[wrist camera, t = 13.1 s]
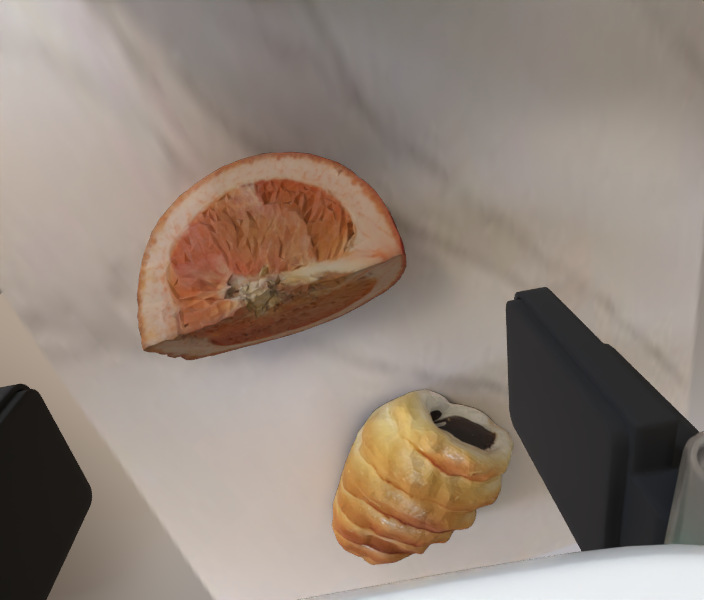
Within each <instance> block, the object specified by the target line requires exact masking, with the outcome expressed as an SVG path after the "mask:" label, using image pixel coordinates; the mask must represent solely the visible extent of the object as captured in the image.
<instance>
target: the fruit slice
mask: <svg viewBox="0 0 704 600" xmlns="http://www.w3.org/2000/svg"><path fill="white" fill-rule="evenodd" d="M405 268H406V254H405V250H404V245H403V242H402V239H401V237H400V235H399V233H398V230H397V227H396V225H395V222H394V220H393V218H392V216H391V214H390V212H389V210H388V209H387V207H386V206H385V204H384V202H383V201H382V199H381V198H380V197H379V195H378V194H377V193H376V191H375V190H374V189H373V188H372V187H371V186H370V185H369V184H367V183H366V182H365V181H364V180H362V179H361V178H359V177H357V176H356V175H355V173H354V172H353V171H351V170H350V169H348V168H346V167H345V166H343V165H341V164H340V163H338V162H335V161H332V160H329V159H326V158H323V157H319V156H316V155H312V154H308V153H298V152H284V153H263V154H259V155H255V156H251V157H248V158H244V159H241V160H238V161H236V162H233V163H231V164H228V165H226V166H223V167H221V168H219V169H218V170H216V171H214V172H213V173H211V174H210V175H208V176H206V177H205V178H203V179H202V180H200V181H199V182H197V183H196V184H195V185H194V186H192V187H191V188H190V189H189V190H187V191H186V192H184V193H183V194H182V195H180V196H179V198H178V199H177V200H176V201H175V202H174V203H173V204H172V205H171V206H170V207H169V208H168V210H167V211H166V212H165V213H164V214H163V216H162V217H161V218H160V219H159V221H158V223H157V225H156V226H155V228H154V229H153V231H152V233H151V236H150V239H149V242H148V244H147V246H146V249H145V252H144V255H143V259H142V266H141V270H140V275H139V285H138V292H137V301H138V306H139V308H138V316H137V317H138V321H139V331H140V335H141V338H142V348H143V350H144V351H147V352H155V353H159V354H163V355H166V354H167V355H168V356H169V357H173V358H176V357H180V356H181V357H182V358H184V359H186V360H194V359H199V358H203V357H207V356H214V355H217V354H221V353H224V352H228V351H232V350H236V349H239V348H243V347H246V346H250V345H255V344H259V343H263V342H266V341H270V340H273V339H277V338H281V337H284V336H288V335H291V334H295V333H298V332H301V331H304V330H306V329H309V328H312V327H315V326H317V325H320V324H323V323H325V322H328V321H330V320H333V319H335V318H338V317H340V316H342V315H344V314H346V313H348V312H350V311H352V310H354V309H356V308H358V307H360V306H362V305H363V304H365V303H367V302H368V301H370V300H372V299H373V298H375V297H377V296H378V295H380V294H382V293H384V292H385V291H387V290H388V289H389V288H390V287H392V286H393V285H394V284H395V283H396V282H397V281H398V280H399V279H400V278H401V275H402V274H403V273H404V270H405Z"/></svg>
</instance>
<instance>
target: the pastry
mask: <svg viewBox="0 0 704 600" xmlns="http://www.w3.org/2000/svg"><path fill="white" fill-rule="evenodd" d="M512 450H513V442H512V440H511V438H510V435H509V433H508V432H507V431H506V430H504V429H502V428H501V427H499V426H497V425H496V424H494V422H493V421H492V420H491V419H490V418H488V417H487V416H486V415H485V414H484V413H482V412H480V411H479V410H477V409H475V408H472V407H466V406H464V405H459V404H452V403H449V402H448V401H447V399H446V398H445V397H443V396H442V395H440V394H437V393H435V392H432V391H430V390H417V391H413V392H409V393H407V394H405V395H403V396H401V397H399V398H396V399H394V400H391V401H389V402H387V403H386V404H384V405H382V406H381V407H379V408H378V409H376V410H375V411H374V412H373V413H372V414H371V415H370V417H369V418H368V420H367V421H366V423H365V424H364V426H363V427H362V428H361V429H360V430H359V431H358V434H357V437H356V440H355V442H354V444H353V445H352V447H351V451H350V453H349V455H348V457H347V460H346V462H345V466H344V469H343V472H342V475H341V479H340V482H339V486H338V489H337V492H336V495H335V498H334V503H333V522H332V527H333V531H334V533H335V536H336V538H337V541H338V543H339V544H340V545H341V546H342V547H343V548H344V549H345V550H346V551H348V552H350V553H352V554H354V555H356V556H358V557H362V558H363V559H364V560H365V561H366V562H368V563H370V564H372V565H377V564H385V563H393V562H397V561H399V560H401V559H403V558H406V557H408V556H410V555H411V554H414V553H418V554H422V553H424V551H425V550H426V549H427V548H428V546H429V545H430V544H433V543H445V542H447V541H448V540H449V539H450V537H451V534H452V533H453V531H454V530H461V529H466V528H469V527H471V526H472V524H473V523H474V520H475V517H476V509H478V508H480V507H483V506H487V505H490V504H493V503H494V502H495V500H496V499H497V497H498V495H499V493H500V490H501V476H502V474H503V473H504V472H506V469H507V466H508V464H509V461H510V457H511V452H512Z"/></svg>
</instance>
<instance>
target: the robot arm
mask: <svg viewBox="0 0 704 600" xmlns="http://www.w3.org/2000/svg"><path fill="white" fill-rule="evenodd" d="M506 325H507V356H508V386H509V411H510V417H511V420H512V423H513V426H514V428H515V430H516V432H517V434H518V435H519V437H520V439H521V441H522V443H523V445H524V446H525V448H526V450H527V452H528V454H529V456H530V457H531V459H532V461H533V463H534V465H535V467H536V468H537V470H538V472H539V474H540V476H541V478H542V479H543V481H544V483H545V485H546V487H547V489H548V490H549V492H550V494H551V496H552V498H553V500H554V501H555V503H556V505H557V507H558V509H559V511H560V512H561V514H562V516H563V518H564V520H565V522H566V523H567V525H568V527H569V529H570V531H571V533H572V534H573V536H574V538H575V540H576V542H577V544H578V545H579V547H580V549H581V551H582V552H573V553H567V554H560V555H554V556H548V557H542V558H535V559H529V560H523V561H517V562H511V563H504V564H498V565H492V566H486V567H479V568H473V569H467V570H461V571H455V572H450V573H444V574H438V575H433V576H427V577H422V578H416V579H410V580H405V581H399V582H393V583H388V584H382V585H377V586H371V587H365V588H360V589H354V590H348V591H343V592H337V593H332V594H326V595H320V596H315V597H309V598H303V599H298V600H704V431H703V432H699V431H698V430H697V429H696V428H695V427H694V426H693V425H692V424H691V423H690V422H689V421H688V420H687V419H686V418H685V417H684V416H683V415H681V414H680V413H679V412H678V411H677V410H676V409H675V408H674V407H673V406H672V405H671V404H670V403H669V402H668V401H667V400H666V399H665V398H664V397H663V396H662V395H661V394H660V393H659V392H658V391H657V390H656V389H655V388H654V387H653V386H652V385H651V384H650V383H649V382H648V381H647V380H646V379H645V378H644V377H643V376H642V375H641V374H640V373H639V372H638V371H637V370H636V369H635V368H634V367H633V366H632V365H631V364H630V363H629V362H628V361H627V360H626V359H625V358H624V357H622V356H621V355H620V354H619V353H618V352H617V351H616V350H615V349H614V348H613V347H612V346H610V345H609V344H604V343H602V342H601V341H600V340H599V339H598V338H597V337H596V336H595V335H594V334H593V332H592V331H591V330H590V329H589V328H588V327H587V326H586V325H585V324H584V323H583V322H582V321H581V320H580V319H579V318H578V317H577V316H576V315H575V314H574V313H573V312H572V311H571V310H570V309H569V308H568V307H567V306H566V305H565V304H564V303H563V302H562V301H561V300H560V299H559V298H558V297H557V296H556V295H555V294H554V293H553V292H552V291H551V290H550V289H548V288H547V287H542V288H537V289H531V290H526V291H521V292H517V293H516V294H515V297H514V300H512V301H508V302H507V304H506ZM91 501H92V491H91V487H90V485H89V483H88V482H87V480H86V478H85V476H84V474H83V472H82V470H81V469H80V467H79V465H78V463H77V461H76V459H75V457H74V456H73V454H72V452H71V451H70V449H69V446H68V445H67V443H66V441H65V439H64V437H63V435H62V434H61V432H60V430H59V428H58V426H57V424H56V423H55V421H54V419H53V417H52V415H51V414H50V412H49V410H48V408H47V406H46V404H45V403H44V401H43V399H42V397H41V396H40V394H39V393H38V392H37V391H36V390H33V389H30V388H29V387H28V386H26V385H24V384H17V385H11V386H6V387H1V388H0V600H46V599H47V597H48V595H49V593H50V591H51V589H52V586H53V584H54V582H55V580H56V578H57V576H58V574H59V572H60V569H61V567H62V565H63V563H64V561H65V559H66V557H67V554H68V552H69V550H70V548H71V546H72V544H73V542H74V540H75V537H76V535H77V533H78V531H79V529H80V527H81V524H82V522H83V520H84V518H85V516H86V514H87V512H88V510H89V507H90V505H91Z"/></svg>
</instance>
